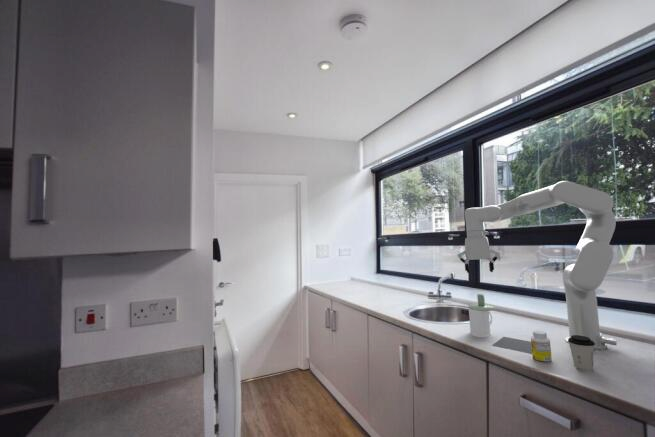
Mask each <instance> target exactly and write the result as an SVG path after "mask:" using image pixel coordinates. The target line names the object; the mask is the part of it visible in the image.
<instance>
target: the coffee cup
mask: <svg viewBox="0 0 655 437" xmlns="http://www.w3.org/2000/svg"><path fill="white" fill-rule="evenodd" d="M568 342H569V343H568V346H569V348H570V352H571V353H570V354H571V356H572V360H573V365H574V367H575V369H576V370H578V371H581V372H588V373H589V372H593V370H594V352H595V351H594V345H595V343H594V342H593V341H592V340H590V338H588V337H585V336H580V335H572V336H571V338H569V339H568Z"/></svg>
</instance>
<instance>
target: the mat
mask: <svg viewBox="0 0 655 437" xmlns="http://www.w3.org/2000/svg"><path fill="white" fill-rule="evenodd" d="M491 346H493V347H497V348H502V349H507V350H510V351H511V350H512V351H516V352H521V353H525V354H529V355H532V345H531V340H530V341H528V340H523V339H519V338H513V337H508V336H502V337H501V338H500V339H498V340H497V341H495V342H494V343H492V345H491Z"/></svg>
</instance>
